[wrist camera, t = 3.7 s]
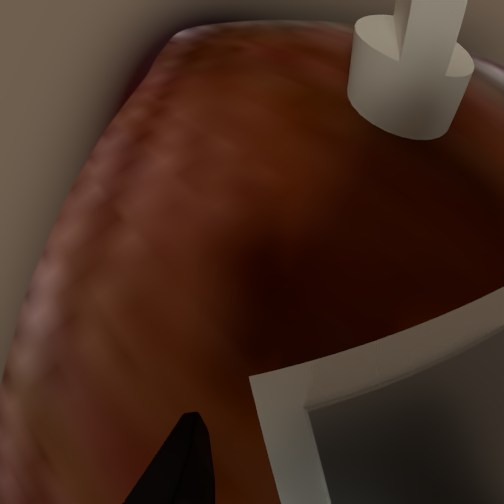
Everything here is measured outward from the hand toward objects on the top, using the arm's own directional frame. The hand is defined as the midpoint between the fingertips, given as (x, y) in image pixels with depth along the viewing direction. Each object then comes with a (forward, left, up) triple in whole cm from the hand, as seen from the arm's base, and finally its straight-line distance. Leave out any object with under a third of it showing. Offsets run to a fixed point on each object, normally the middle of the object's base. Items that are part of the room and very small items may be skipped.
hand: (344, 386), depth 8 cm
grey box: (-1, +1, -7) cm, 7 cm away
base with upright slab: (+8, -20, -7) cm, 23 cm away
